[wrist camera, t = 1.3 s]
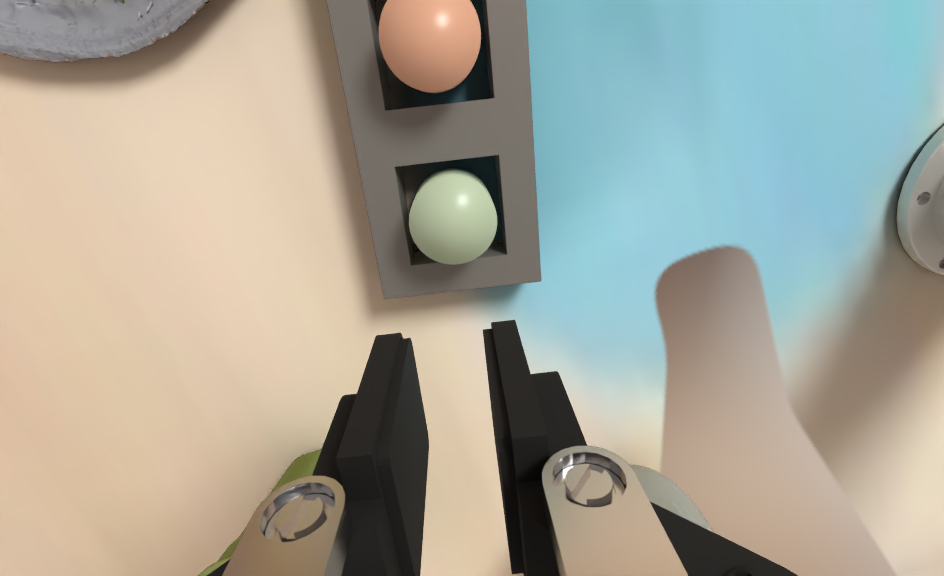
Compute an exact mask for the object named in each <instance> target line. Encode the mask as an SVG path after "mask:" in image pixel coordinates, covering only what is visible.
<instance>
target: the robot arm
mask: <svg viewBox="0 0 944 576" xmlns="http://www.w3.org/2000/svg"><path fill="white" fill-rule="evenodd" d="M897 227H898V235H899V237H900V240H901V243H902V245H903V248H904V249H905V250H906V252H907V253H908V255H909V256H910V257H911V259H913V260H914V261H915V262H916V263H918V264H919V265H920V266H922V267H924V268H926V269H928V270H931V271H933V272H935V273H938V274H942V275H944V126H943V127H942V128H941V129H939V130H938V132H937V133H936V134H935V135H934V136H933V137H932V138H931V140H930V141H929V142H928V143H927V144H926V145H925V147H924V148H923V149H922V151H921V152H920V154H919V155H918V157H917V159H916V160H915V162H914V163H913V165H912V166H911V169H910V171H909V173H908V175H907V177H906V179H905V181H904V183H903V187H902V190H901V194H900V197H899V201H898V209H897ZM491 326H492V329H485V330H483V336H484V345H485V354H486V363H487V372H488V381H489V391H490V400H491V409H492V418H493V427H494V436H495V444H496V452H497V460H498V467H499V475H500V483H501V491H502V499H503V507H504V515H505V523H506V531H507V539H508V547H509V554H510V562H511V570H512V574H518V573H523V574H524V576H797V575H796V574H794V573H793V572H791V571H789V570H788V569H786V568H784V567H782V566H780V565H778V564H776V563H774V562H772V561H769V560H768V559H766V558H764V557H762V556H760V555H758V554H756V553H754V552H752V551H750V550H748V549H746V548H744V547H742V546H739V545H738V544H736V543H734V542H732V541H729V540H727V539H725V538H723V537H721V536H719V535H717V534H715V533H713V532H711V531H709V530H707V529H705V528H703V527H701V526H699V525H697V524H695V523H693V522H691V521H689V520H687V519H685V518H683V517H681V516H679V515H677V514H675V513H673V512H671V511H669V510H667V509H665V508H663V507H661V506H659V505H657V504H655V503H653V502H651V501H649V499H648V497H647V496H646V494H645V492H644V490H643V488H642V486H641V484H640V482H639V480H638V478H637V476H636V474H635V472H634V471H633V470H632V468H631V467H630V466H629V464H628V463H627V462H626V461H625V460H623V459H622V458H621V457H619V456H618V455H617V454H615V453H613V452H610V451H608V450H606V449H603V448H599V447H594V446H587V444H586V441H585V439H584V436H583V434H582V431H581V429H580V426H579V424H578V421H577V419H576V416H575V413H574V411H573V408H572V406H571V403H570V401H569V398H568V396H567V393H566V391H565V388H564V385H563V383H562V380H561V378H560V375H559V373H558V372H557V371H554V372H546V373H537V374H530V371H529V367H528V364H527V360H526V357H525V353H524V350H523V346H522V343H521V339H520V336H519V333H518V329H517V326H516V322H515V320H510V321H501V322H492V323H491ZM428 452H429V439H428V431H427V425H426V419H425V414H424V408H423V402H422V397H421V391H420V385H419V380H418V374H417V368H416V363H415V357H414V351H413V346H412V341H411V338H406V339H403V337H402V334H401V333H395V334H386V335H377V336H376V337H375V340H374V344H373V347H372V350H371V353H370V356H369V359H368V362H367V365H366V368H365V371H364V374H363V377H362V380H361V383H360V386H359V389H358V392H357V394H351V395H344V396H342V398H341V400H340V402H339V405H338V408H337V410H336V413H335V416H334V418H333V421H332V423H331V426H330V429H329V431H328V434H327V437H326V439H325V442H324V445H323V447H322V450H321V453H320V455H319V458H318V461H317V463H316V466H315V469H314V471H313V474H312V476H308V477H303V478H299V479H296V480H294V481H291V482H289V483H287V484H285V485H283V486H281V487H280V488H278V489H277V490H275V491H274V492H272V493H271V494H270V495H269V496H268V497H267V498H266V499H265V500H264V501H262V502H261V504H260V505H259V507H258V508H257V509H256V511H255V512H254V514H253V516H252V517H251V519H250V521H249V523H248V525H247V527H246V529H245V531H244V533H243V535H242V537H241V539H240V541H239V543H238V545H237V547H236V549H235V551H234V553H233V555H232V557H231V559H229V560H228V561H227V562H225V563H224V564H222V565H221V566H220V567H218V568H217V569H215V570H214V571H213V572H211V573H210V574H208V575H207V576H420V569H421V555H422V540H423V525H424V511H425V496H426V481H427V467H428Z"/></svg>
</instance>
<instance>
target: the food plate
mask: <svg viewBox="0 0 944 576" xmlns="http://www.w3.org/2000/svg"><path fill="white" fill-rule="evenodd" d="M208 2H209V1H208V0H0V53H2V54H5V55H11V56H14V57H18V58H23V59H28V60H43V61H47V62H51V63H53V62H54V63H56V62H57V61H60V62H61V61H63V62H68V61H70V62H71V61H75V62H76V61H77V60H78V59H83V58H88V57H89V59H90V58H92V59H93V58H99V57H101V58H102V57H106V58H107V57H108V56H110V57H111V56H113V57H116V56H117V57H120V56H121V55H123V54H125V55H126V54H128V53H131V51H132V52H135V51H138V50H139V49H141V48H142V47H144V48H145V46H148V45H150V44H154V42H155V41H157V40H160V39H161V38H163V37H168V36H167V35H169V33H170V32H171V33H172V34H173V32H174V31H176V30H177V29H178V28H179V27H180V26H182V25H184V24H185V23H186V22H187V20H188V19H190V18H191V17H193V15H194V14H196V13H197V12H199V10H200V9H201V8H203V7H204V6H205V4H204V3H208ZM174 33H175V32H174ZM170 35H171V34H170Z"/></svg>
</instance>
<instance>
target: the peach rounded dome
mask: <svg viewBox="0 0 944 576" xmlns="http://www.w3.org/2000/svg"><path fill="white" fill-rule="evenodd" d="M379 43H380V47H381V51H382V54H383V57H384V59H385V61H386V63H387V65H388V66H389V68H390V69H391V71H392V72H393V73H394V74H395V75H396V76H397V77H398V78H399V79H400V80H401V81H402V82H404V83H405V84H407V85H409V86H410V87H412V88H415V89H417V90H420V91H423V92H427V93H442V92H446V91H449V90H451V89H453V88H455V87H457V86H458V85H459V84H460V83H462V82H463V81H464V80H465V78H466V77H467V76H468V74H469V73H470V71H471V69H472V68H473V66H474V64H475V62H476V60H477V57H478V54H479V50H480V44H481V29H480V22H479V19H478V15H477V13H476V10H475V8H474V6H473V4H472V2H471V1H470V0H387V2H386V3H385V5H384V8H383V10H382V13H381V17H380V22H379Z"/></svg>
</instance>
